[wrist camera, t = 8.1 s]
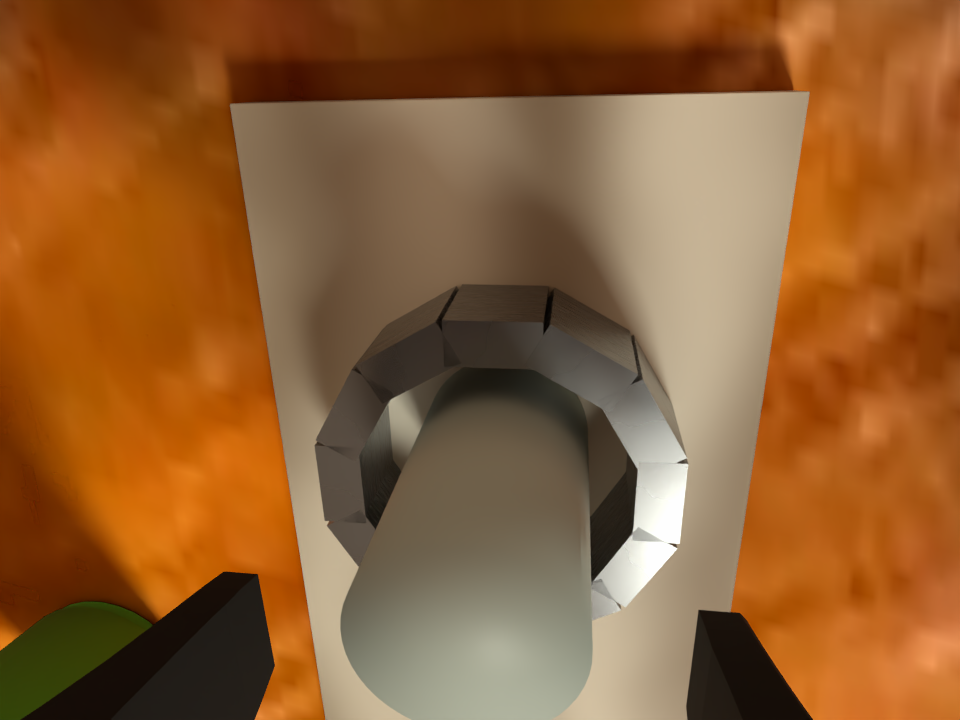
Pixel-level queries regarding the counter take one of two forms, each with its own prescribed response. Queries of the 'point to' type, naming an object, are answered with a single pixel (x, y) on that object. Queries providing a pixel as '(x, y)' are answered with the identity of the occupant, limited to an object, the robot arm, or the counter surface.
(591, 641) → the gray peg
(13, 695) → the cup
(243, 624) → the robot arm
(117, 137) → the counter surface
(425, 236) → the peg holder
